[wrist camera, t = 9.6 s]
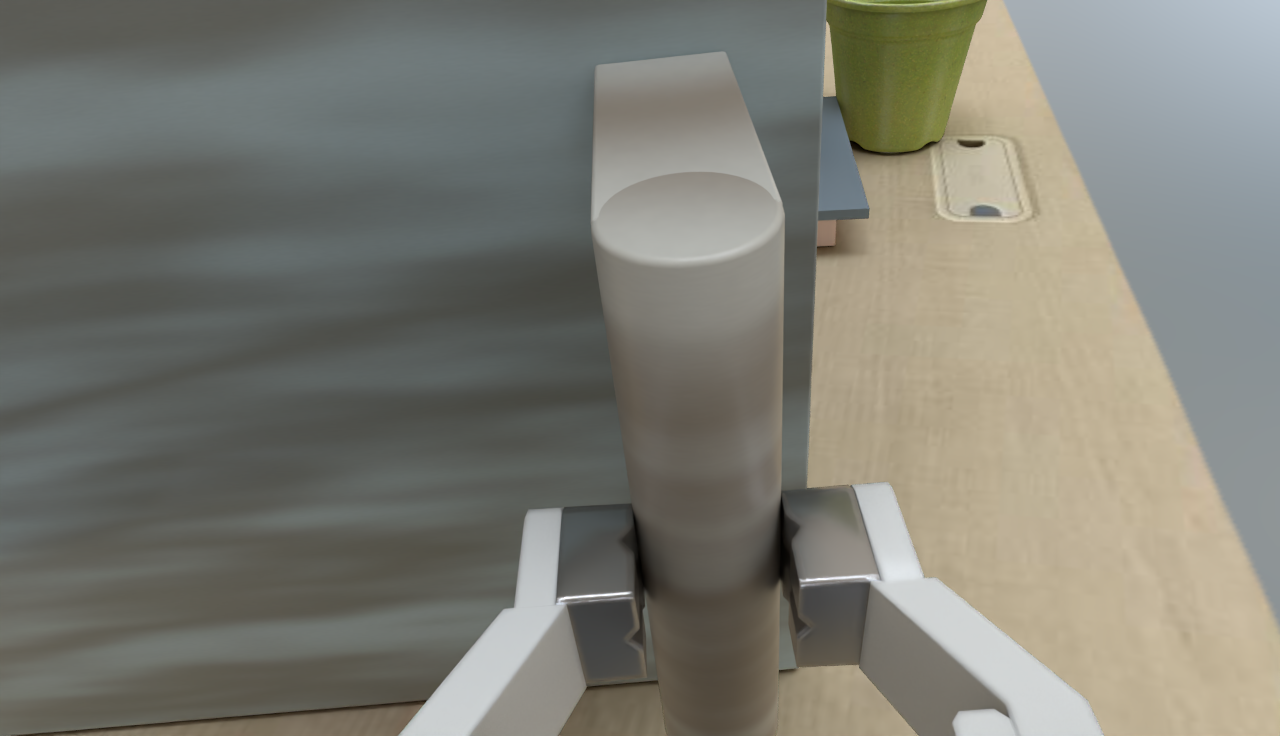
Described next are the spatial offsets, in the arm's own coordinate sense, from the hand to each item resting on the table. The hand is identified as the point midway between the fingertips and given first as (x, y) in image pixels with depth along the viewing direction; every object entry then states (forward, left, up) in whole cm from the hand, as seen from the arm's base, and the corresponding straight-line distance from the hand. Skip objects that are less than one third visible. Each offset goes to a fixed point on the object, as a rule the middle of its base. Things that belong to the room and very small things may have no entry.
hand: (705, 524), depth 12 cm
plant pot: (+36, +22, -12) cm, 44 cm away
